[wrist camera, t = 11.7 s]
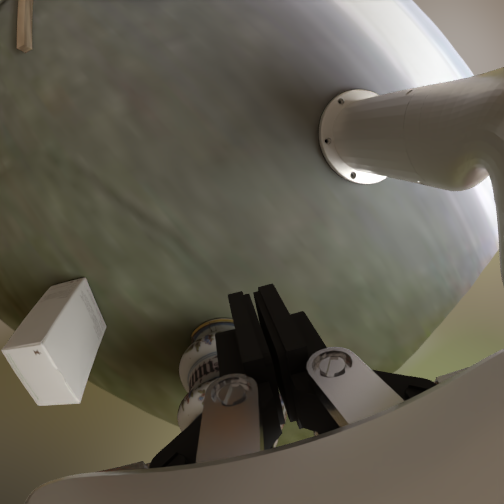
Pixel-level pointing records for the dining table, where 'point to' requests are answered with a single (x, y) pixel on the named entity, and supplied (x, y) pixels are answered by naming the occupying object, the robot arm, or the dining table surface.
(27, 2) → the serving frame
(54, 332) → the skincare box
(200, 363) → the apothecary jar
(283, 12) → the dining table surface
